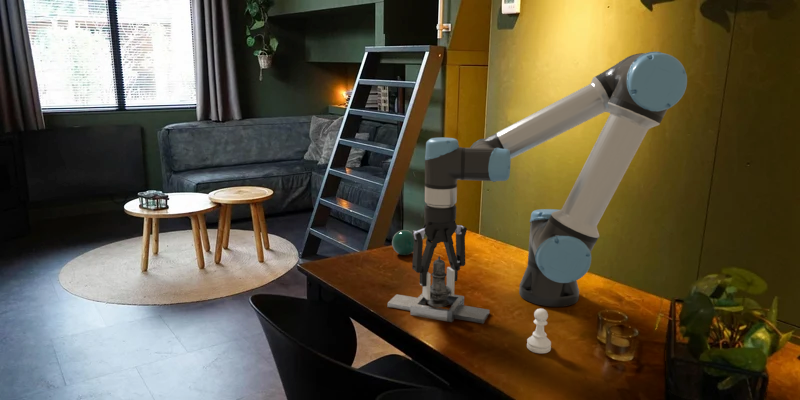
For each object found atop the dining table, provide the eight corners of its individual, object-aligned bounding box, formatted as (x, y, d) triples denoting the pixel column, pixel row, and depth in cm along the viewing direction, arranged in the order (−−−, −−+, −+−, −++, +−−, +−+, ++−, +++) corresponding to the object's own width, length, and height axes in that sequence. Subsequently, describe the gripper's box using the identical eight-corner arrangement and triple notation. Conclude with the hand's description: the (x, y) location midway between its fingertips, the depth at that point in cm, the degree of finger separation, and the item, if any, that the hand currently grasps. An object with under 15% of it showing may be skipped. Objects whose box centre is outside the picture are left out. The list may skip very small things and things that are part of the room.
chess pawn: (522, 343, 123) (525, 305, 121) (543, 341, 125) (546, 303, 123) (533, 355, 119) (535, 315, 117) (555, 352, 120) (558, 313, 118)
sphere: (414, 259, 176) (414, 235, 174) (389, 257, 178) (389, 233, 176) (419, 251, 184) (419, 227, 182) (395, 249, 186) (395, 226, 184)
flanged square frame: (491, 309, 140) (491, 300, 140) (481, 327, 131) (481, 317, 130) (399, 294, 149) (399, 285, 149) (383, 310, 140) (383, 300, 139)
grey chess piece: (448, 308, 136) (450, 261, 134) (424, 306, 137) (425, 259, 135) (451, 299, 142) (452, 253, 139) (428, 297, 143) (429, 251, 140)
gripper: (467, 197, 141) (464, 284, 146) (397, 203, 134) (396, 295, 139) (483, 203, 134) (479, 295, 139) (410, 211, 127) (409, 307, 132)
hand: (438, 295), depth 139 cm, fingers closed on grey chess piece, 6 cm apart
